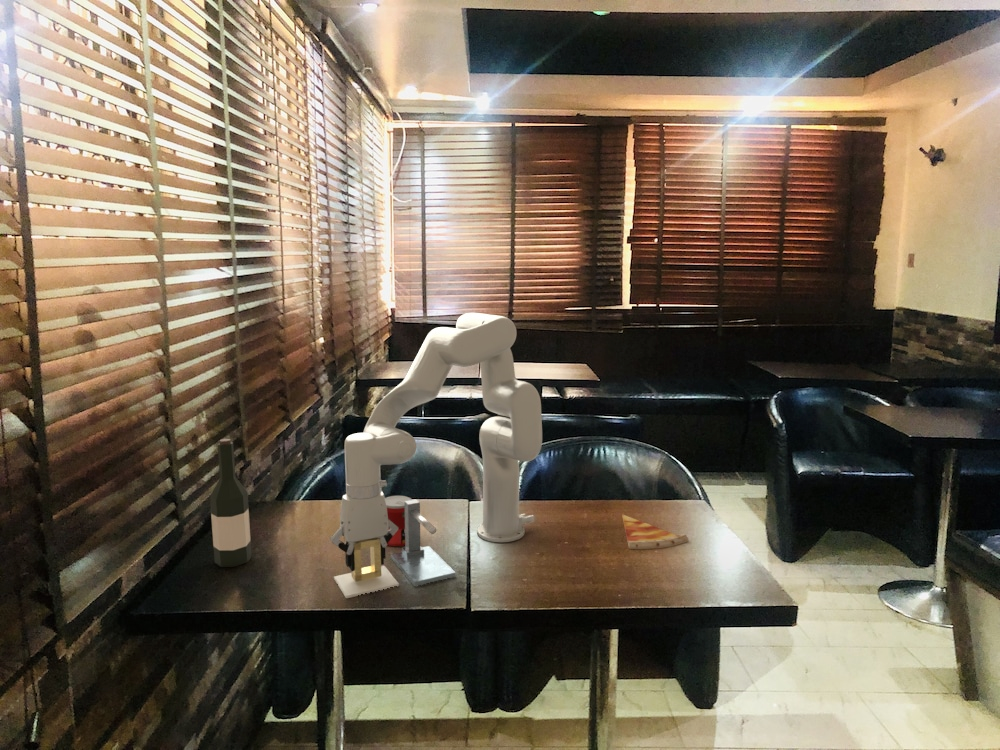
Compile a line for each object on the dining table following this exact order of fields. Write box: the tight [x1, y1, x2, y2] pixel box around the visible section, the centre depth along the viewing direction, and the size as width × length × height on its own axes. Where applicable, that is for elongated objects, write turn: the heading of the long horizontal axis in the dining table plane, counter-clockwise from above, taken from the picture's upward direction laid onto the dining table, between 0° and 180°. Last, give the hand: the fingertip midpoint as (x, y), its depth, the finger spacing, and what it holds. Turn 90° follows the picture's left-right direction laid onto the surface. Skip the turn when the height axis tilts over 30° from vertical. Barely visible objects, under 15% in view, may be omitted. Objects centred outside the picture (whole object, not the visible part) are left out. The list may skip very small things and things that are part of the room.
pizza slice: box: [621, 514, 689, 550], centre depth 183 cm, size 16×22×2 cm
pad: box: [333, 565, 400, 599], centre depth 154 cm, size 12×10×1 cm
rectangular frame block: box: [350, 537, 382, 582], centre depth 153 cm, size 6×3×9 cm, turn 118°
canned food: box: [385, 495, 413, 547], centre depth 175 cm, size 8×8×11 cm
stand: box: [390, 499, 456, 587], centre depth 160 cm, size 10×16×14 cm, turn 28°
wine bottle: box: [209, 438, 252, 568], centre depth 162 cm, size 8×8×30 cm
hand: (366, 564), depth 154 cm, fingers closed on rectangular frame block, 6 cm apart
